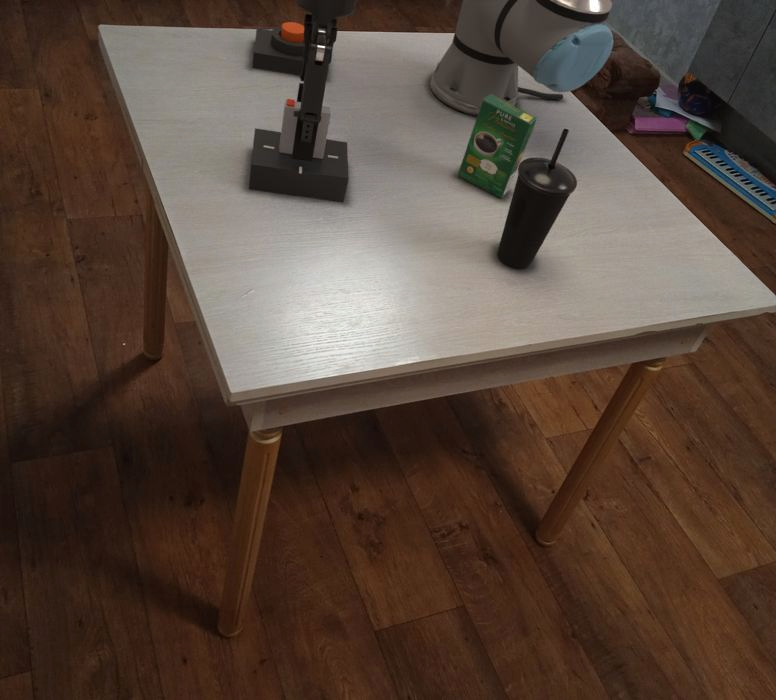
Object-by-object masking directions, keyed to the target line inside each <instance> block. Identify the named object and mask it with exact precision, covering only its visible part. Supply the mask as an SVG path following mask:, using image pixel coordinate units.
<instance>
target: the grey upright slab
mask: <svg viewBox="0 0 776 700" xmlns="http://www.w3.org/2000/svg"><path fill="white" fill-rule="evenodd" d="M300 107H301V102H297V100H295V99H292V98H287V99H285V101H284V106H283V115H282V124H281V130H280V132H281V137H280V145H279V152H280V153H286V154H292V152H293V145H294V138H295V131H296V124H297V117H295V116H293V115H294V111H299V110H300ZM331 115H332V108H331V106H327V105H322V111H321V120H320V123H319V124H318V130H317V136H316V142H315V148H314V154H313V158H320V159H323V155H324V150H325V144H326V139H328V138H327V137H328V132H329V127H330V122H331Z"/></svg>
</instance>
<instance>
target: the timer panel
mask: <svg viewBox="0 0 776 700" xmlns="http://www.w3.org/2000/svg"><path fill="white" fill-rule="evenodd" d="M253 135H254V137H253V145H252V154H251V161H250V162H251V163H250V172H249V182H248V190H252V191H260V192H267V193H273V194H274V193H275V194H282V195H288V196H295V197H301V198H302V197H303V198H310V199H318V200H325V201H331V202H341V203H344V202H345V199H346V198H345V197H346V192H347V188H348V183H349V178H350V177H349V155H348V154H349V153H348V151H349V150H348V142H347V141H341V140H335V139H329V138H326V144H325V150H324V155H323V159H320V158H313V160H312V162H311V161H305V160H298V159H292V154H286V153H280V152H279V145H280V137H281V131H276V130H269V129H263V128H256V127H255V128H254V134H253Z"/></svg>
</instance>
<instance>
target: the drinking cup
mask: <svg viewBox="0 0 776 700" xmlns="http://www.w3.org/2000/svg"><path fill="white" fill-rule="evenodd" d="M569 133H570V130H569V128H568V129H567V128H563V130H562V132H561V135H560V136H559V139H558V142H557V144H556V147H555V149H554V152H553V154H552V157H551V159H548V158H546V157H545V158H544V157H537V156H535V157H528V158H525V159H523V160H522V161H520V163H519V165H518V168H517V178H516V182H515V185H514V190H513V193H512V197H511V201H510V204H509V208H508V211H507V215H506V219H505V223H504V226H503V230H502V234H501V238H500V241H499V245H498V248H497V252H496V256H497V258H498V260H499V261H500V262H501V263H502V264H503V265H505V266H506V267H508V268H510V269H514V270H526V269H528V268H530V267H531V265H532V263H533V261H534V259H535V257H536V256H537V254H538V252H539V250H540V249H541V247H542V245H543V243H544V242H545V240H546V238H547V236H548V235H549V232H550V231H551V229H552V227H553V226H554V224H555V222H556V220H557V218H558V217H559V215H560V213H561V212H562V209H563V208H564V206H565V204H566V202H567V200H568V199H569V197H570V195H571V194H572V193H574V192H575V190H576V188H577V187H578V180H577V177H576V175H575V174H574V173H573V172H572V171H571V169H569V168H568V167H566V166H565V165H563V164H561V163H560V162H558V158H559V156H560V154H561V151H562V149H563V146H564V145H565V142H566V139H567V137H568V134H569Z"/></svg>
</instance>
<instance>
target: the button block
mask: <svg viewBox="0 0 776 700" xmlns="http://www.w3.org/2000/svg"><path fill="white" fill-rule="evenodd" d="M281 28H282V25H278V26H276V27H274V28H273V29H266V28H261V27H256V32H255V39H254V47H253V55H252V66H251V67H252V68H253V69H259V70H264V71H270V72H275V73H282V74H288V75H295V76H300V74H301V73H302V70H301V69H302V68H301V63H302V61H303V51H304V43H303V42H297V43H296V42H290V41H287V40H285V39H283V38H282V37H281Z"/></svg>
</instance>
